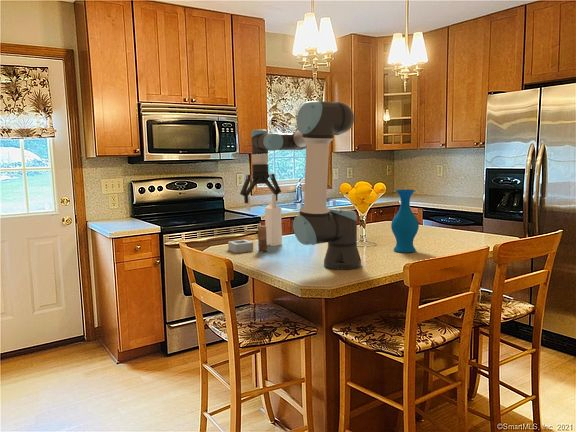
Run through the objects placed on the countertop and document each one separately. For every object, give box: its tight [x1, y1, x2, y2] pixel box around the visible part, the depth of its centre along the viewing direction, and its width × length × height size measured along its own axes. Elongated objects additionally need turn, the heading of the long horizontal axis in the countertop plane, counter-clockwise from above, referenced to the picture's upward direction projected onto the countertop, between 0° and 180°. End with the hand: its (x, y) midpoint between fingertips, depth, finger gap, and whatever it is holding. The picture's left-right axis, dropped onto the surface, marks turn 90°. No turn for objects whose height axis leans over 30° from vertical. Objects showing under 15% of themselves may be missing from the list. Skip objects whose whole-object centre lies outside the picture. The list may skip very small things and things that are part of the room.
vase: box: [390, 189, 420, 254], centre depth 215 cm, size 12×13×28 cm
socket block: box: [227, 239, 254, 254], centre depth 226 cm, size 9×9×4 cm
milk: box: [264, 200, 283, 247], centre depth 237 cm, size 6×6×22 cm
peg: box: [257, 225, 268, 253], centre depth 222 cm, size 4×4×12 cm
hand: (261, 209), depth 220 cm, fingers open, 13 cm apart
